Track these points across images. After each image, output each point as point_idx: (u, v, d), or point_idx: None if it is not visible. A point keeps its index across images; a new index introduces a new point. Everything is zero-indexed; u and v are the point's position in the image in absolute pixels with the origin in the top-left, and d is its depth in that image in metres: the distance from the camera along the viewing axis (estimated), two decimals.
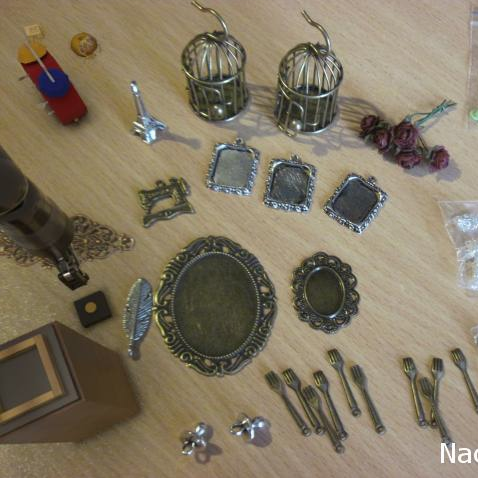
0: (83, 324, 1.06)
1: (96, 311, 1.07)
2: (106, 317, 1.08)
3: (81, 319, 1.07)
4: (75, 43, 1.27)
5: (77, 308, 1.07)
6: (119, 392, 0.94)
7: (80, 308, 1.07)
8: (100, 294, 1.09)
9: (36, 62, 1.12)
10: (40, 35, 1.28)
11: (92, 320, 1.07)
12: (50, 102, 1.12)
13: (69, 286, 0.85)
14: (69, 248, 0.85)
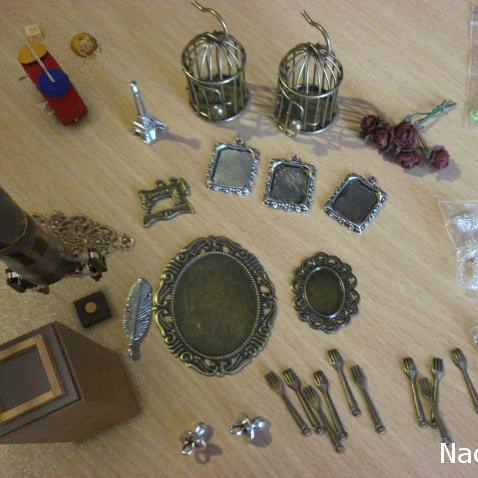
0: (83, 324, 1.06)
1: (96, 311, 1.07)
2: (106, 317, 1.08)
3: (81, 319, 1.07)
4: (75, 43, 1.27)
5: (77, 308, 1.07)
6: (119, 392, 0.94)
7: (80, 308, 1.07)
8: (100, 294, 1.09)
9: (36, 62, 1.12)
10: (40, 35, 1.28)
11: (92, 320, 1.07)
12: (50, 102, 1.12)
13: (103, 265, 0.91)
14: None
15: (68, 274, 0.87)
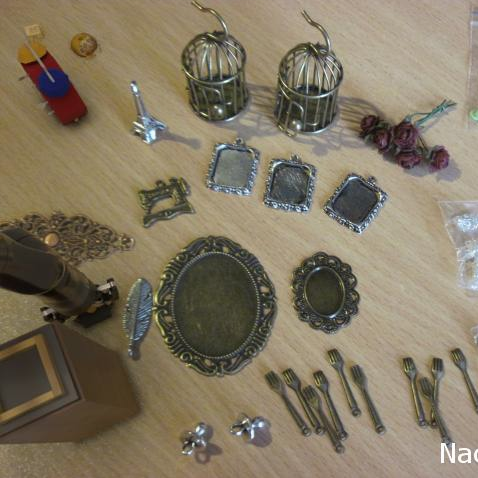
0: (83, 324, 1.06)
1: (96, 311, 1.07)
2: (106, 317, 1.08)
3: (81, 319, 1.07)
4: (75, 43, 1.27)
5: None
6: (119, 392, 0.94)
7: None
8: None
9: (36, 62, 1.12)
10: (40, 35, 1.28)
11: (92, 320, 1.07)
12: (50, 102, 1.12)
13: (118, 293, 1.05)
14: None
15: (93, 303, 1.01)
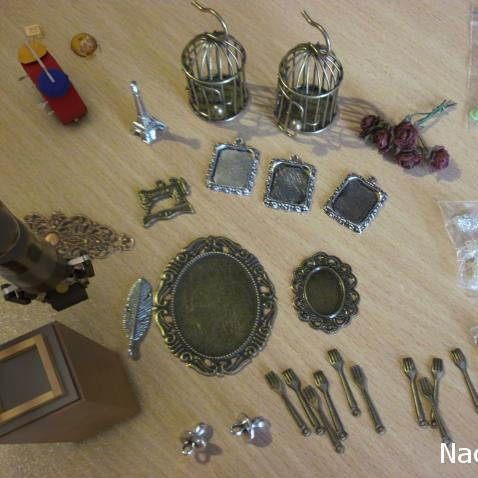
0: (53, 306, 0.92)
1: (68, 291, 0.93)
2: (80, 298, 0.94)
3: (51, 300, 0.92)
4: (75, 43, 1.27)
5: None
6: (119, 392, 0.94)
7: None
8: None
9: (36, 62, 1.12)
10: (40, 35, 1.28)
11: (63, 301, 0.92)
12: (50, 102, 1.12)
13: (93, 269, 0.90)
14: None
15: (63, 279, 0.86)
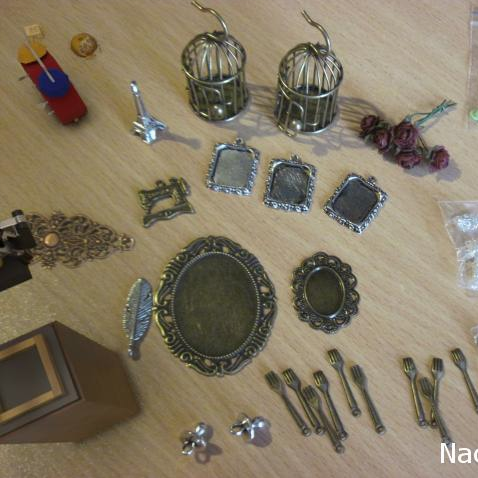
0: None
1: (2, 267, 0.69)
2: (19, 277, 0.69)
3: None
4: (75, 43, 1.27)
5: None
6: (119, 392, 0.94)
7: None
8: None
9: (36, 62, 1.12)
10: (40, 35, 1.28)
11: None
12: (50, 102, 1.12)
13: None
14: None
15: None
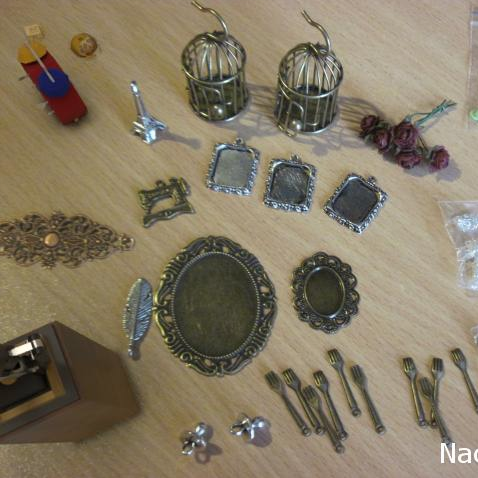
0: None
1: (17, 382, 0.68)
2: (34, 390, 0.69)
3: None
4: (75, 43, 1.27)
5: None
6: (119, 392, 0.94)
7: None
8: None
9: (36, 62, 1.12)
10: (40, 35, 1.28)
11: (10, 397, 0.68)
12: (50, 102, 1.12)
13: (48, 356, 0.66)
14: None
15: (4, 375, 0.62)
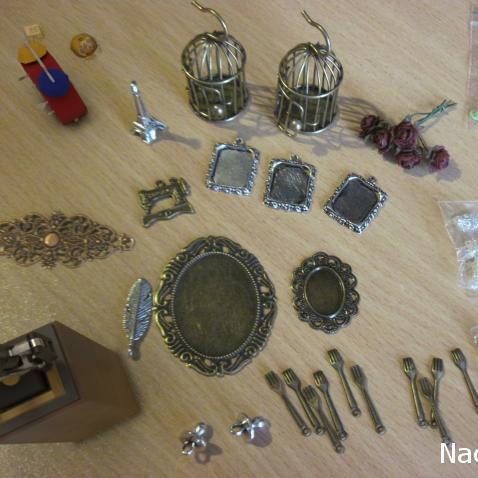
0: None
1: (19, 383, 0.69)
2: (36, 391, 0.70)
3: None
4: (75, 43, 1.27)
5: None
6: (119, 392, 0.94)
7: None
8: (27, 355, 0.70)
9: (36, 62, 1.12)
10: (40, 35, 1.28)
11: (12, 397, 0.69)
12: (50, 102, 1.12)
13: (52, 352, 0.65)
14: None
15: (3, 375, 0.62)
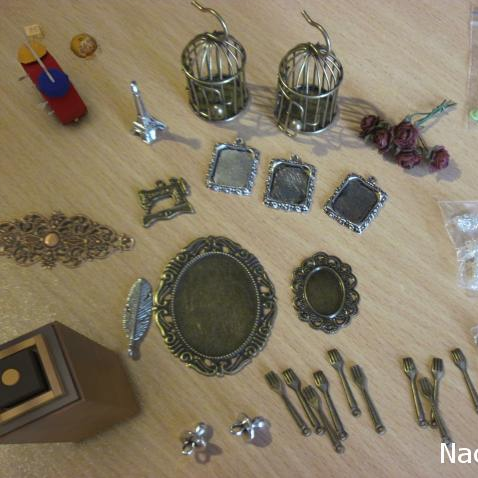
0: None
1: (19, 383, 0.69)
2: (36, 391, 0.70)
3: None
4: (75, 44, 1.27)
5: None
6: (119, 392, 0.94)
7: None
8: (27, 355, 0.70)
9: (36, 62, 1.12)
10: (40, 35, 1.28)
11: (12, 397, 0.69)
12: (50, 102, 1.12)
13: None
14: None
15: None
